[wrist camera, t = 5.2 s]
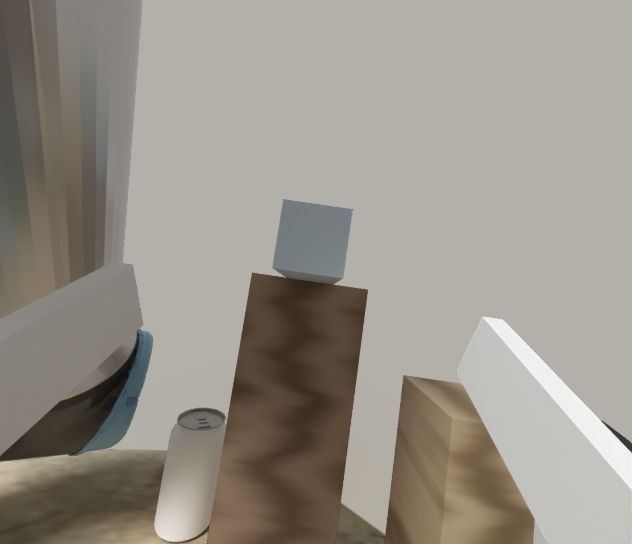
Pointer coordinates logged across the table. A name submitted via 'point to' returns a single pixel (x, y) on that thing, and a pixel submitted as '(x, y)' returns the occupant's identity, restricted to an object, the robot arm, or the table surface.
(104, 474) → the table surface
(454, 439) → the oak step
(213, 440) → the can
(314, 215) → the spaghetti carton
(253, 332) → the walnut block
